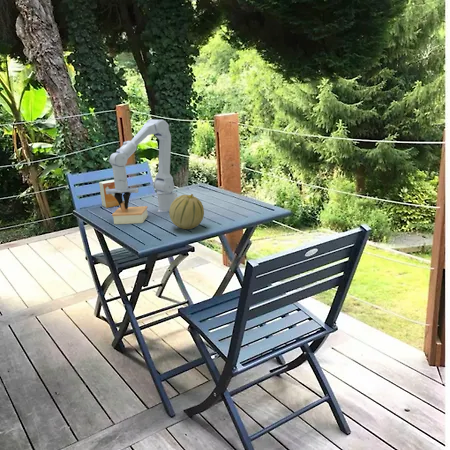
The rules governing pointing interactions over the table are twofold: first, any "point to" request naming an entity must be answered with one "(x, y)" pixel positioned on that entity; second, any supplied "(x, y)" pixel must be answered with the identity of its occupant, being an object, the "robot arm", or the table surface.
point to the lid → (129, 210)
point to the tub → (130, 218)
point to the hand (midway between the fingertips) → (124, 208)
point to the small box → (108, 199)
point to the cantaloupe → (186, 211)
